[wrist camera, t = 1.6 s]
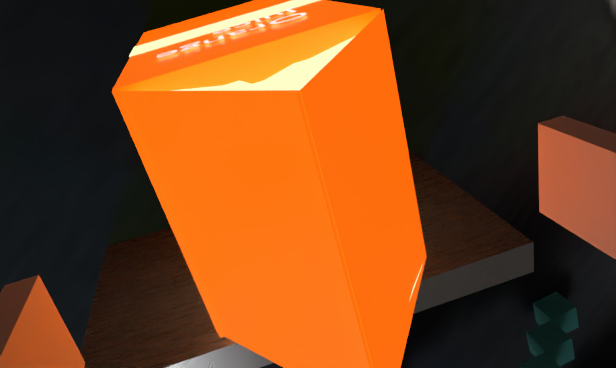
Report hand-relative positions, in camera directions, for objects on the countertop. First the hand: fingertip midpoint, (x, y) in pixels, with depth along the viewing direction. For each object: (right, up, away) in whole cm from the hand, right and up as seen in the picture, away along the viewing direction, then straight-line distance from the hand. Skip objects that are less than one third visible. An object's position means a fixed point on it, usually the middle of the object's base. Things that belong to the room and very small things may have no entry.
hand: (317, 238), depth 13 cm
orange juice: (-4, +7, +15) cm, 17 cm away
